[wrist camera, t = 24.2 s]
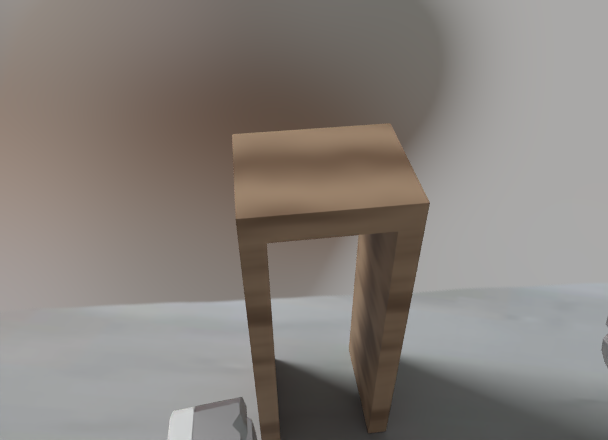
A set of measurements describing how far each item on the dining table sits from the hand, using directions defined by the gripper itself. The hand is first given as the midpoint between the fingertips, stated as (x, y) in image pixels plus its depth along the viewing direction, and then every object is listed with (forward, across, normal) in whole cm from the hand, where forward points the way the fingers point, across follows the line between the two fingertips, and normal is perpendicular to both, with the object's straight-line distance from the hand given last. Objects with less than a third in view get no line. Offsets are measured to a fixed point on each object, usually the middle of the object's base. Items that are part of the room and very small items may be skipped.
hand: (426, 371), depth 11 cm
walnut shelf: (+25, -4, -31) cm, 40 cm away
